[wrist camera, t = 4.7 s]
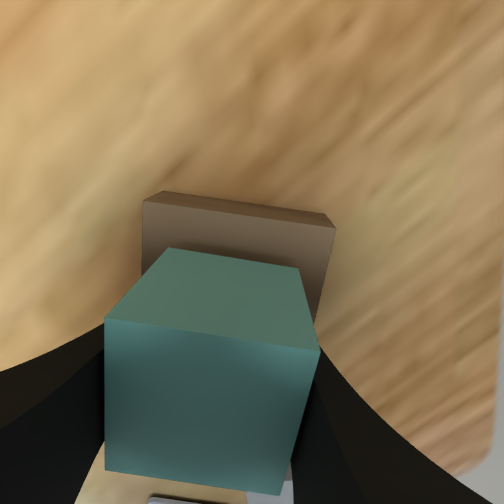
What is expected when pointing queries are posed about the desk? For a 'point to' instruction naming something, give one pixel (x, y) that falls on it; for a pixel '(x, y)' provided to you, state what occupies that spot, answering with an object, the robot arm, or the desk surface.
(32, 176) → the desk surface
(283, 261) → the walnut base block
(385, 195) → the desk surface
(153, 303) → the teal cube
